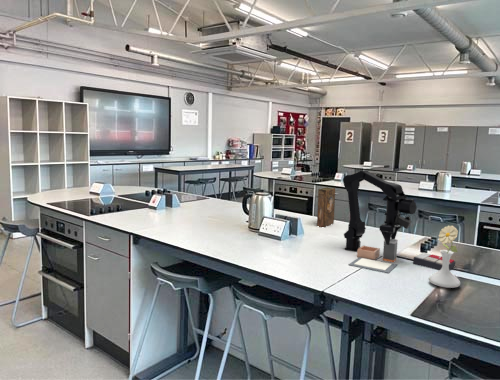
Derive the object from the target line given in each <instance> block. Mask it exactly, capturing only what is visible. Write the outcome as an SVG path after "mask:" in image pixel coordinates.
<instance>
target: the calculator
mask: <svg viewBox="0 0 500 380" xmlns="http://www.w3.org/2000/svg"><path fill="white" fill-rule="evenodd" d="M412 261H413V262H412V264H413V265H417V266H420V267H426V268H428V269H433V270H437V271H439V270H441V268H442V264H443V258H442V256H440V255H436V254H431V253H427V252H422V253H420V254H416V255H415V256H413V259H412ZM454 266H455V267H456V261H455V260H454V259H452V258H450V260H449V271H451V270H453V269H454V268H455V267H454ZM453 267H454V268H453Z"/></svg>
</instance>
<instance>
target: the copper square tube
mask: <svg viewBox="0 0 500 380" xmlns="http://www.w3.org/2000/svg"><path fill="white" fill-rule="evenodd" d="M380 251H381V248H379V247H374V246H368V245H361V246H360V248H359V249H358V250H357V251H356V253H357V254H356V257H357V258H359V257H361V258H366V259H371V260H377V259H378V258H379V257H380V253H381V252H380Z"/></svg>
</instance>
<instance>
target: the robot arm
mask: <svg viewBox="0 0 500 380" xmlns="http://www.w3.org/2000/svg"><path fill="white" fill-rule="evenodd" d="M363 181H366V182H368V183H369V184H371V185H373V186H375V187H376V188H378V189H380V190H381V192H382V193H383V194H384V195H385V197H384V198H382V201H384V202H385V201H386V209H385V210H386V212H384V215H385V220H384V223H382V224H381V225H380V226H379V231H380V233H381V235H382V237H383V239H384V240H385V242H386V244H387V245H389V243H390V239H396V237H397V234H398V231H399V230H400V229H401V228H402V227H403V229H409V228H410V226H411V224H412V220H411V217H410V216H408V215H407V216H405V217H403V216H401V213H403V214H409V215H414V214H415V213H416V211H417V204H416V202H415V199H413V198H408V197H407V196H406V194H405V192H404V190H403V186H402V185H401V184H398V183H396V182H391V181H387V180H385V179H383V178H381V177H379V176H377V175H375V174H374V173H372V172H370V171H368V170H360V171H358V172H355V173H352V174H346V175H345V176H344V177H343V179H342V183H343V186H344V189H345V191H346V192H347V197H348V207H349V216H350V218H349V222H348V229H347V230H346V231H345V232H344V233H343V237H344V239H345V248H344V250H347V251H353V252H357V250H358V249H359V248H360V247H361V241H360V240H361V238H362V237H363V236H364V234H365V233H366V229H367V228H366V222H365V221H362V219H361V213H360V205H359V203H360V202H359V194H358V191H359V188H360V186H361V185H360V183H361V182H363ZM384 240H383V241H384Z"/></svg>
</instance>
